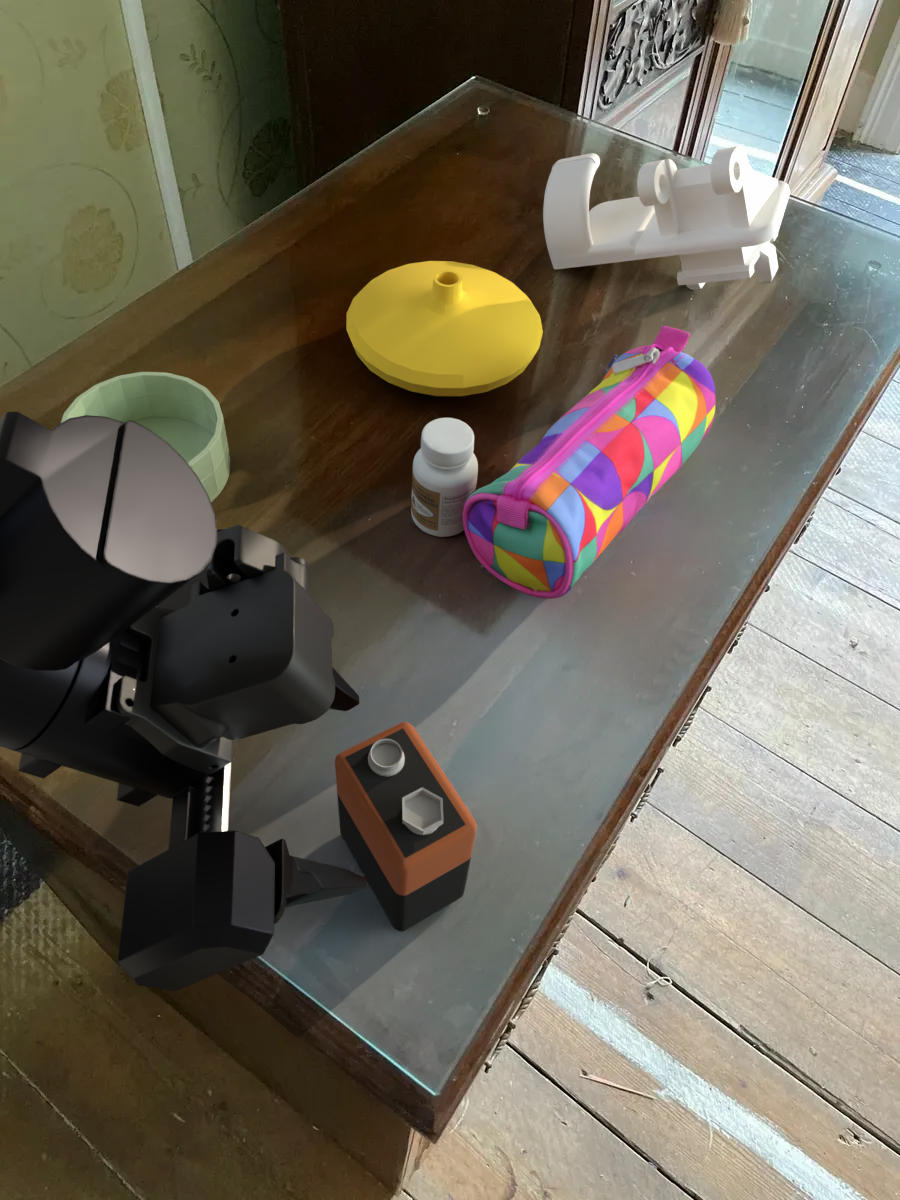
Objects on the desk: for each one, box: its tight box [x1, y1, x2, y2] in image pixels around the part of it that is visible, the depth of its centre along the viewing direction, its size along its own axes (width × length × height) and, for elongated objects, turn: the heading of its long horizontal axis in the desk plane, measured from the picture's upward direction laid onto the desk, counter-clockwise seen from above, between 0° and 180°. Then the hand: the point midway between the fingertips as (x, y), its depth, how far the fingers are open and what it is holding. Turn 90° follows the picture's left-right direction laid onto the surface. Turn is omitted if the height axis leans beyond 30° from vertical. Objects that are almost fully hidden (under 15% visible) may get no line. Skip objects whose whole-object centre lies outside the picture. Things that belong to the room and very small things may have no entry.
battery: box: [334, 721, 478, 932], centre depth 48 cm, size 4×7×10 cm, turn 31°
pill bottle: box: [410, 417, 479, 538], centre depth 65 cm, size 4×4×8 cm
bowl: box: [60, 371, 231, 503], centre depth 67 cm, size 11×11×4 cm
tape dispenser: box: [542, 145, 791, 291], centre depth 83 cm, size 20×11×13 cm, turn 61°
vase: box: [346, 260, 544, 397], centre depth 76 cm, size 16×16×7 cm
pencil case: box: [463, 325, 717, 599], centre depth 66 cm, size 22×9×9 cm, turn 145°
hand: (357, 789), depth 44 cm, fingers open, 9 cm apart
